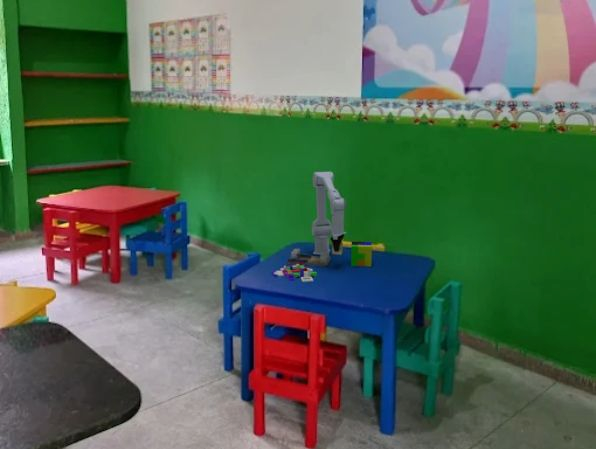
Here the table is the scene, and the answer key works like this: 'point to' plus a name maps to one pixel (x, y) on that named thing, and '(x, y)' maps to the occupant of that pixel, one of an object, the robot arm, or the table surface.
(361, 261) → the puzzle toy
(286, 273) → the building block set
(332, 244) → the housing
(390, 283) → the table surface
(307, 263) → the press bed
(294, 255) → the ram
